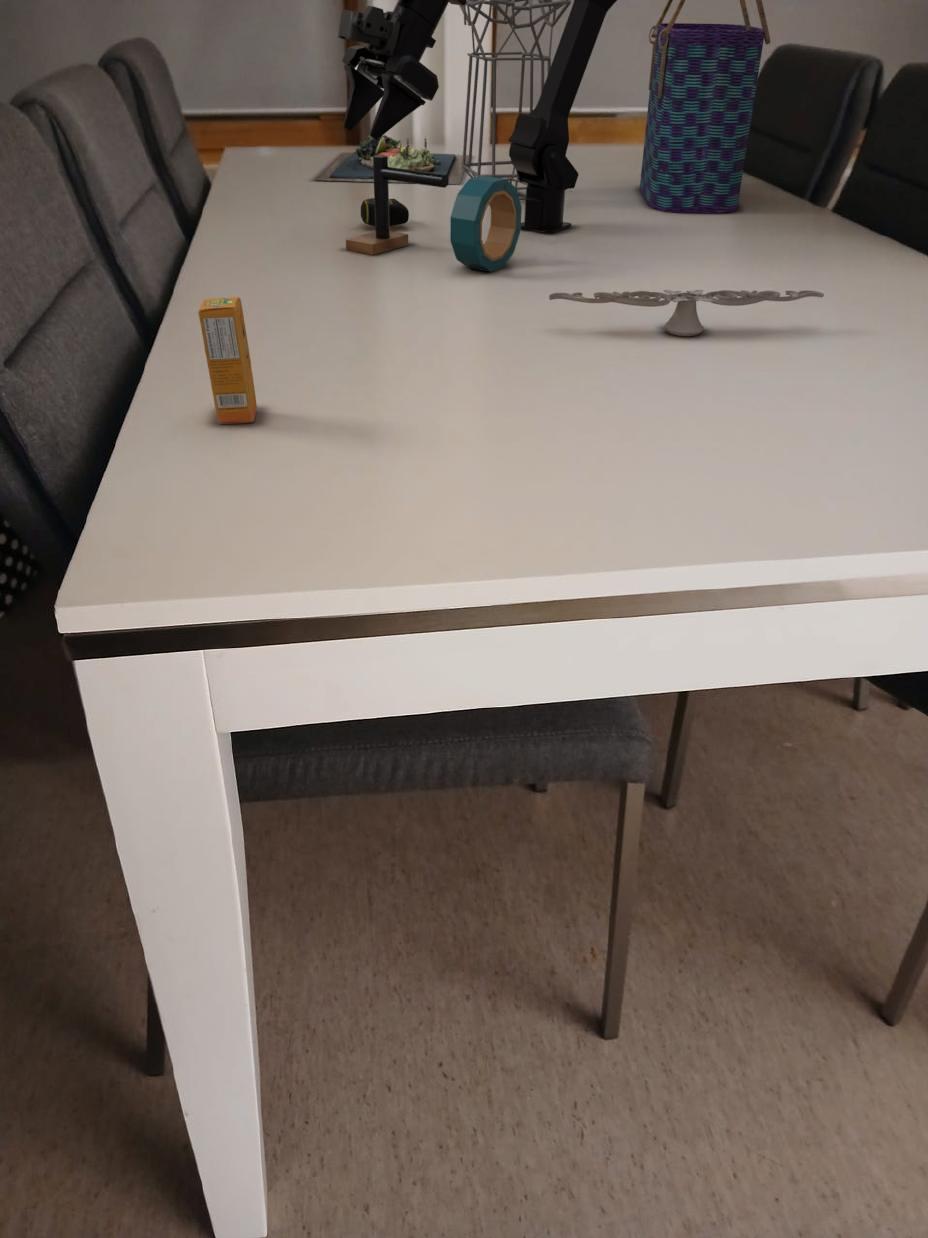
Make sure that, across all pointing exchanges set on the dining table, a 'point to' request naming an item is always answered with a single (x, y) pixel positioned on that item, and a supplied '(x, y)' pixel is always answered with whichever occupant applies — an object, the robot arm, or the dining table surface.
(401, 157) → the plated dish
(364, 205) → the tape measure
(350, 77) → the robot arm
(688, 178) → the basket
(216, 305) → the supplement box
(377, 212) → the hook
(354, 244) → the hook base
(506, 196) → the tape roll
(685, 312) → the wall hook
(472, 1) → the geometric lantern
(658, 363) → the dining table surface
